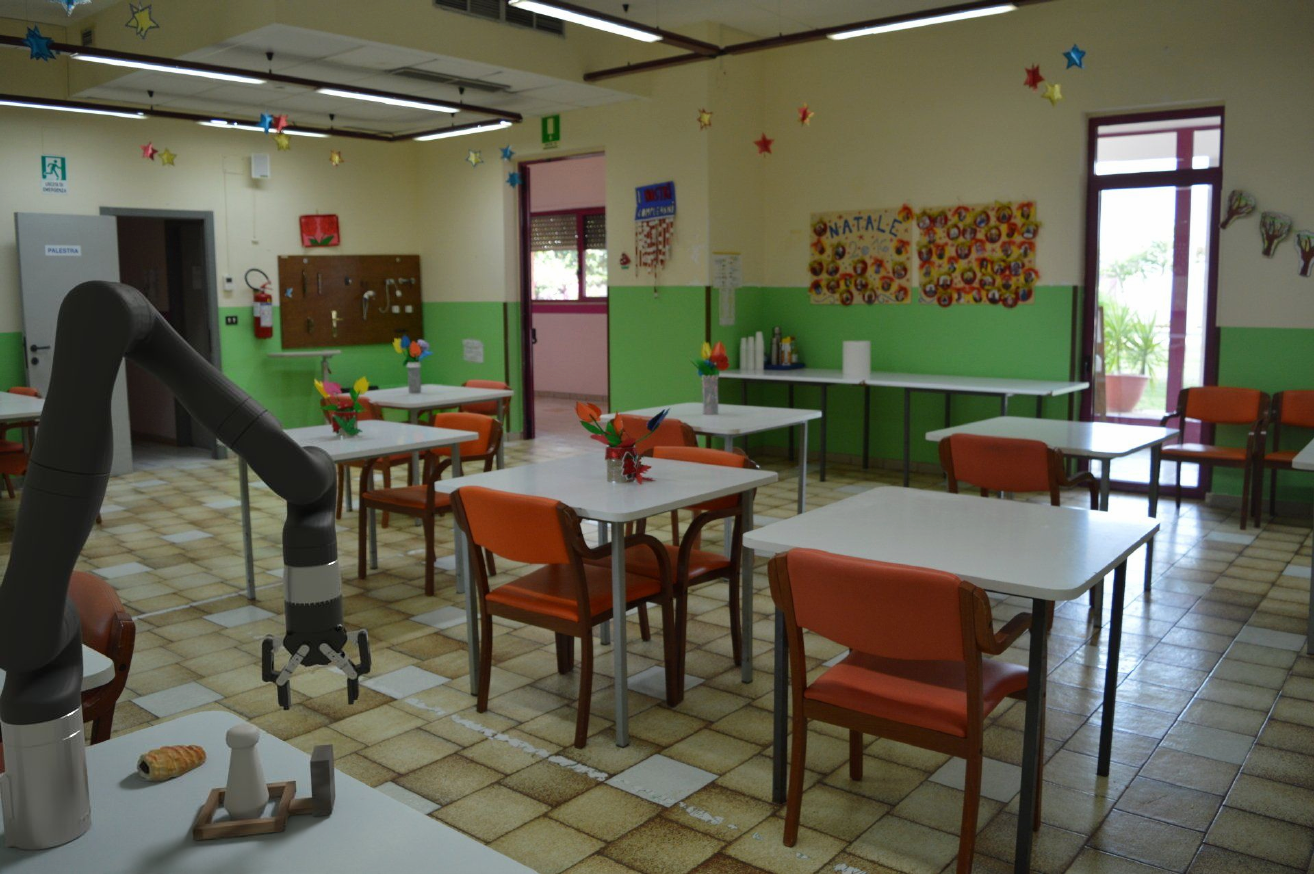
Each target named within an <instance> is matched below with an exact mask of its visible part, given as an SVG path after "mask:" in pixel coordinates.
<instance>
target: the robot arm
mask: <svg viewBox="0 0 1314 874" xmlns="http://www.w3.org/2000/svg"><path fill="white" fill-rule="evenodd" d="M55 329H56V330H55V338H54V349H53V356H52V365H51V374H50V376H49V377H50V378H49V383H48V388H47V391H46V396H45V399H44V401H43V406H42V409H41V413H40V418H39V421H38V424H37V429H36V434H35V438H34V442H33V443H32V444H33V445H32V448H31V452H30V454H29V459H28V463H27V468H26V471H25V475H24V480H23V486H22V490H21V497H20V501H19V505H18V509H17V510H18V511H17V514H16V515H17V516H16V519H15V525H14V528H13V529H14V530H13V534H12V542H11V549H10V553H9V559H8V563H7V566H6V569H5V572H4V575H3V578H2V581H1V584H0V670H2V671H4V672H5V677H4V683H3V687H2V690H1V693H0V728H1V738H2V739H1V740H2V747H3V748H2V749H3V761H4V773H3V774H2V775H1V777H0V800H1V801H0V802H1V811H2V822H3V830H4V831H3V833H4V842H5V848H8V847H16V848H19V849H22V850H43V849H49V848H53V847H57V846H61V845H63V844H66V843H68V842H71V841H73V840H75V839H77V838H78V837H80V836H82V835H83V834H85V833H86V832H87V831H88V830H89V829H90V827H91V825H92V814H91V812H92V807H91V801H90V789H89V776H88V765H87V753H86V741H85V730H84V729H85V728H84V720H83V708H82V695H81V694H82V693H81V692H82V686H83V680H84V655H83V654H84V651H83V636H82V635H83V633H82V623H81V616H80V613H79V610H78V608H77V606H76V604H75V602H74V601H73V600H72V598H71V597H70V596H69V595H68V592H69V587H70V582H71V578H72V575H73V572H74V568H75V567H76V563H77V561H78V559H79V556H80V555H81V553H82V550H83V549H84V547H85V546H86V545H85V544H86V542H87V541H88V538H89V537H90V534H91V531H92V530H93V527H94V526H95V523H96V521H97V518H98V517H99V514H100V511H101V508H102V505H103V502H104V500H105V496H106V492H107V488H108V483H109V480H110V476H111V471H112V466H113V460H114V459H113V458H114V429H113V418H112V399H113V392H114V388H115V384H116V381H117V378H118V374H119V371H120V368H121V364H122V361H123V358H125V359H127V360H128V361H130V362H131V363H134V364H135V365H136V366H138V367H140V368H141V369H143V370H144V371H146V372H147V373H148V374H149V375H151V376H152V377H154V378H155V379H156V381H159V382H160V383H161V384H162V385H163V386H164V387H165V388H166V389H167V390H168V391H169V392H170V393H171V394H172V395H173V396H174V397H175V399H177V401H178V402H179V404H181V406H182V407H183V408H184V409H185V410H186V412H188V414H189V415H190V416H191V417H192V418H193V419H194V420H195V421H196V422H197V423H198V424H199V425H200V426H201V427H202V428H203V429H205V430H206V431H207V432H208V433H209V434H210V435H212V436H213V437H215V439H217V440H218V441H220V443H221V444H223V445H224V446H226V447H227V448H228V449H229V450H231V451H232V452H233V453H235V455H238V456H239V457H240V458H242V459H243V461H245V463H246V464H247V465H248V467H250V469H251V470H252V471H253V472H254V474H256V475H257V477H259V479H260V480H261V481H262V482H263V483H264V484H265V485H266V486H267V487H268V489H270V490H271V491H272V492H273V493H275V494H276V495H277V496H278V497H280V498H282V499H283V500H285V501H286V519H285V522H284V524H283V528H282V534H281V537H282V539H281V541H282V543H281V544H282V558H283V573H282V587H283V588H282V589H283V591H282V592H283V602H284V603H283V604H284V616H285V617H284V620H285V635H284V636H274V635H273V634H270V633H269V634H266V635H265V637H264V639H263V640H262V642H261V680H262V681H263V682H265V683H268V682H270V683H273V684H275V685H276V687H277V688H276V689H277V704H278V706H279V707H281V708H282V707H283V711H290V709H291V707H292V695H291V693H292V692H291V682H290V681H291V680H290V679H289V678H290V677H291V675H292V674H293V673H294V672H295V671H296V669H297V668H298V666H299V665H300V666H301V665H302V666H304V668H307V667H313V666H316V665H317V666H329V665H330V664H331V663H333V665H335V667H337V668H338V670H341V671H342V672H343V673H344V674H345V676H347V677H346V678H347V679H346V688H347V691H346V692H347V705H348V706H351V705H355V701H357V700H358V699H359V697H360V682H359V680H360V679H359V677H361V676H363V675H368V674H369V673H371V669H372V668H371V667H372V663H373V662H372V656H371V647H370V646H371V645H370V639H369V632H368V628H366V627H360V628H359V630H352V631H347V630H346V628H345V626H344V625H345V623H344V609H343V608H344V605H343V594H342V593H343V592H342V589H343V581H342V578H341V575H342V574H341V570H340V564H339V559H338V557H339V553H338V542H337V541H338V540H337V539H338V538H337V537H338V536H337V531H336V530H337V529H336V512H337V511H336V510H337V496H338V476H337V475H338V474H337V472H338V471H337V467H336V463H335V461H334V459H333V458H332V456H331V454H329V452H327V450H324V449H323V448H322V447H319V446H315V445H314V446H313V445H305V446H301V445H300V444H299V443H298V442H297V441H295V440H294V439H293V438H292V437H291V436H290V435H289V434H288V433H287V432H285V431H284V429H283V425H282V423H281V421H280V419H279V418H277V416H275V415H274V413H272V412H271V411H270V410H268V408H266V407H265V406H264V405H263V404H262V403H260V402H259V401H258V400H256V399H255V398H254V397H253V396H252V395H250V394H249V393H248V392H246V391H245V390H244V389H243V388H241V387H240V386H239V385H238V384H236V383H235V382H234V381H232V380H231V379H230V378H229V377H228V376H226V375H225V374H224V373H222V372H221V371H220V370H219V369H217V368H216V367H215V366H214V365H213V364H211V362H209V361H208V360H207V359H206V358H204V357H203V356H202V355H201V354H200V353H198V351H196V349H194V348H193V346H191V345H190V344H189V343H188V342H187V341H186V340H185V339H184V338H183V336H181V335H180V334H179V333H178V332H177V331H176V330H175V329H174V328H173V327H172V325H171V324H170V323H169V322H168V321H167V320H166V318H165V317H164V316H163V315H162V314H161V313H160V312H159V311H158V309H156V308H155V306H154V305H153V304H152V303H151V302H150V301H149V300H148V298H147V297H146V296H145V295H144V294H143V293H142V292H141V291H140V290H139V289H137V288H136V287H133V286H131V285H129V284H126V283H122V282H117V281H108V280H96V279H95V280H87V281H84V282H81V283H79V284H77V285H75V286H74V287H73V288H71V289H70V290H69V291H68V292H67V294H66V295H65V296H64V298H63V300H62V302H61V304H60V307H59V309H58V314H57V320H56V328H55ZM348 641H350V642H351V643H352V645H353V646H354V647H355V648H358V654H359V659H360V660H359V661H360V663H357V664H356V662H354V660H352V659H351V657H350V656H349V654H348V653H347V652H346V651H345V650H344V647H345V645H346V644H347V642H348ZM281 646H283V647H284V649H285V650H286V651H287V652H288V653H289V654H290V657H289V659H288V660H287V661H286V663H285V665H284V666H283V668H282V669H281V670H276V669H275V654H277V653H278V652H279V649H280V647H281Z"/></svg>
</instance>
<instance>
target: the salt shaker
mask: <svg viewBox="0 0 1314 874" xmlns="http://www.w3.org/2000/svg"><path fill="white" fill-rule="evenodd" d="M260 735H261V733H260V729H259V727H258V726H257V725H255V724H253V723H240V724H236V725H234V726H232V727H230V728H229V729H228V730H227V731H226V734H225V743H226V746H227V747H228V748H229V749H231V751H230V757H229V766H228V774H227V779H226V792H225V799H224V801H223V806H224V807H223V808H224V810H225V811H226V812H227V813H228V816H229V817H230V819H231V820H232V821H239V820H249V819H259V818H261V817H262V815H264V813H265V810H266V807H267V805H268V802H269V798H270V797H269V793H268V789H267V785H266V784H267V782H266V778H265V774H264V770H263V767H262V764H261V763H262V762H261V758H260V754H259V752H258V751H259V750H258V747H257V744H258V743H259V742H260Z"/></svg>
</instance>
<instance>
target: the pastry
mask: <svg viewBox="0 0 1314 874" xmlns="http://www.w3.org/2000/svg"><path fill="white" fill-rule="evenodd" d="M206 760H207V753H206V751H205V750H204V748H203V747H202V746H201V745H196V744H190V745H184V744H182V745H172V746H168V745H166V746H164V745H163V746H161V747H160V748H158V749H157V748H156V749H151V750H149V751H148V752H147V753H144V754H143V753H142V754H141V755H140V756H139V759H138V761H137V764H136V770H137V771H138V772H139V776H140V777H141V778H143V779H145V780H147V781H149V782H157V783H158V782H160V783H161V782H163V781H164V782H165V781H168V780H169V778H171V777H174V778H177V777H180V776H183V774H186V773H189V772H191V771H192V770H195V769H197V768H199V767H200V766H201V765H202V764H203V763H205V762H206Z"/></svg>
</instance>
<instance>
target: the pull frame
mask: <svg viewBox="0 0 1314 874" xmlns="http://www.w3.org/2000/svg"><path fill="white" fill-rule="evenodd" d="M334 759H335V758H334V744H333V743H331V744H321V745H314V746H313V751H312V753H311V757H310V760H309V767H310V769H309V770H310V771H309V772H310V785H311V788H310V789H311V796H310V797H309V796H308V797H300V798H295V796H296V793H297V781H296V780H291V781H290V780H289V781H278V782H269V783H268V782H266V785H267V789H268V793H269V798H272V797H280V796H281V800H280V802H279V806H278V809H277V810H276V814H275V816H271V817H270V816H269V817H262V818H261V817H260V818H259V819H249V820H239V821H221V822H212V820H213V818H214V816H215V814H216V811H217V809H218V807H219V804H220V802H223V803H224V799H225V792H226V787H217V788H216V787H215V788H211V791H210V793H209V795H208V797H207V798H206V800H205V802H204V805H203V807H202V809H201V812H200V813H199V816H198V818H197V820H196V822H195V824H194V827H193V828H192V835H193V836H192V837H193V841H199V840H207V839H216V838H217V839H218V838H226V837H227V838H229V837H237V836H245V835H247V836H248V835H254V834H255V835H256V834H265V833H275V832H283V831H285V830H286V827H287V826H286V825H287V823H288V820H289V817H290V816H295V815H302V814H312V817H318V816H319V817H320V816H327V815H333V810H334V806H335V800H336V779H335V777H336V776H335V762H334Z"/></svg>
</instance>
